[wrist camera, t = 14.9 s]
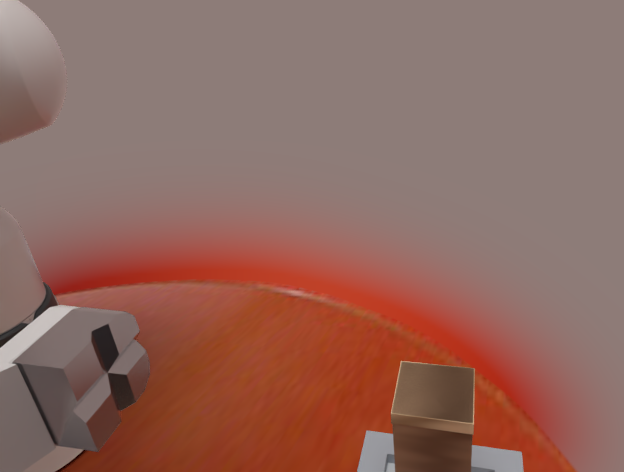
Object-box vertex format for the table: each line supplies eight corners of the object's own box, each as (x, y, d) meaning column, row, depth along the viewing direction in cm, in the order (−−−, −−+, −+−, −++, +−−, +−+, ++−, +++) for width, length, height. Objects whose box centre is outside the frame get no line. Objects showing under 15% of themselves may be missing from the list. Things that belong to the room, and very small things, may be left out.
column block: (398, 542, 36) (390, 413, 30) (406, 484, 39) (401, 361, 34) (468, 556, 34) (473, 424, 29) (469, 495, 38) (474, 368, 33)
